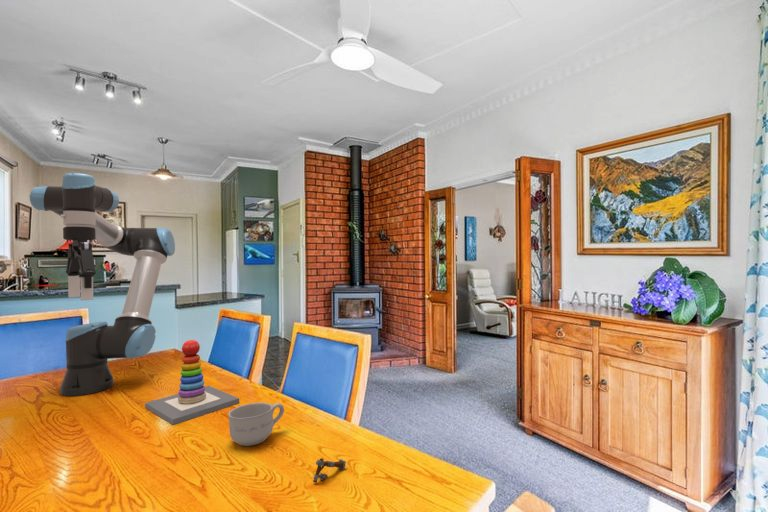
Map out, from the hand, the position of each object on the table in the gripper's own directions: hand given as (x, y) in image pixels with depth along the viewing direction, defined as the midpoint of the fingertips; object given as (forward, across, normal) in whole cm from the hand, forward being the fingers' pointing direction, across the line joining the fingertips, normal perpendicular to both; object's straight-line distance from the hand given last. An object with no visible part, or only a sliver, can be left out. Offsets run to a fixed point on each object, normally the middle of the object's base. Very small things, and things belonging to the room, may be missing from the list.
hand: (80, 298), depth 114 cm
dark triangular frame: (+35, +81, +24) cm, 91 cm away
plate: (+35, +18, +24) cm, 46 cm away
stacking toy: (+33, +18, +24) cm, 45 cm away
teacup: (+35, +54, +24) cm, 69 cm away
